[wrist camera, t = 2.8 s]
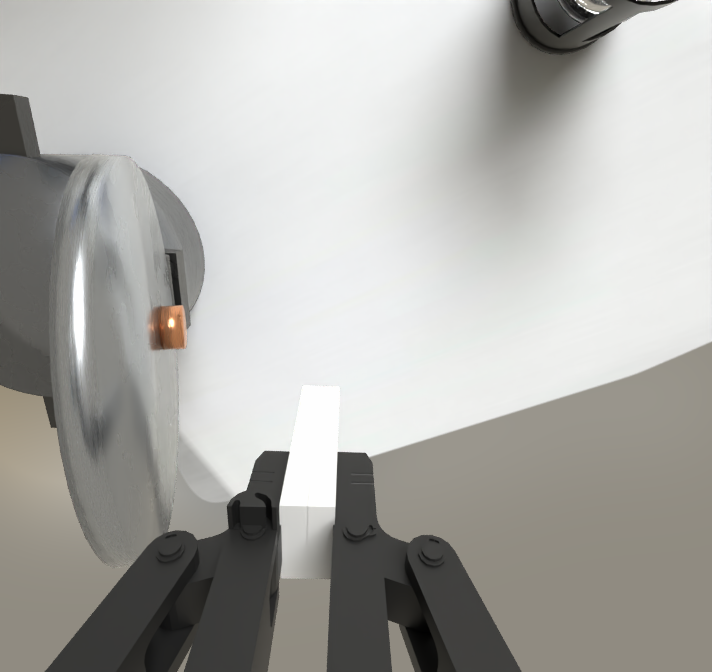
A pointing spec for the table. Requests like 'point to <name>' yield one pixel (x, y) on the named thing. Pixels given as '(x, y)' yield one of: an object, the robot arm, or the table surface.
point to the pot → (35, 244)
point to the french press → (586, 6)
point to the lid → (115, 358)
